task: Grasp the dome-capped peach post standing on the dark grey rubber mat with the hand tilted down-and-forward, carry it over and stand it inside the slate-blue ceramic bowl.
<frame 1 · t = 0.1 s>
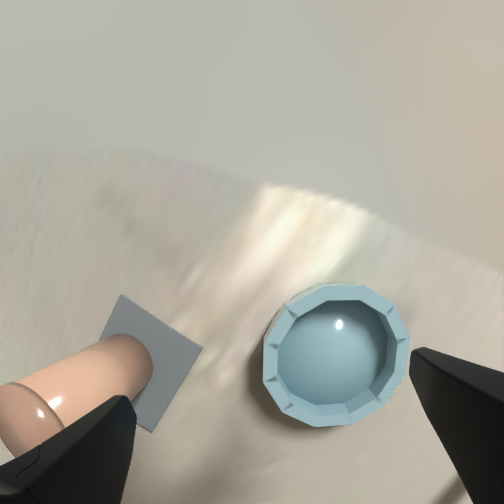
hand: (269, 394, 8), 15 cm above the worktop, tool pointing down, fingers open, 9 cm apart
bowl: (331, 350, 24), on the worktop
dome-capped peach post: (125, 362, 24), resting on mat
mat: (136, 367, 24), on the worktop
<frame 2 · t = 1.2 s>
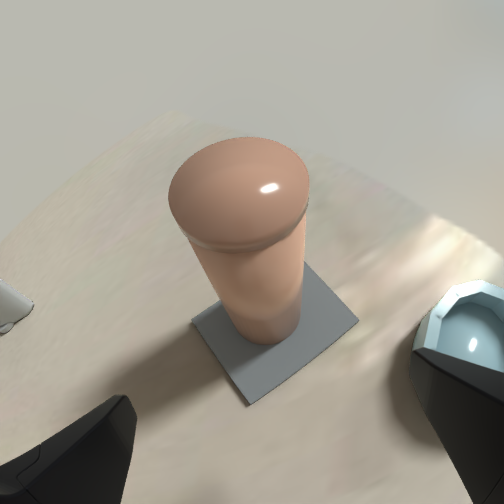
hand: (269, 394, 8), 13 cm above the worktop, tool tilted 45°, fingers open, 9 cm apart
tall pale column: (7, 317, 26), on the worktop
bowl: (469, 358, 19), on the worktop
dome-capped peach post: (266, 311, 23), resting on mat
mat: (274, 323, 23), on the worktop
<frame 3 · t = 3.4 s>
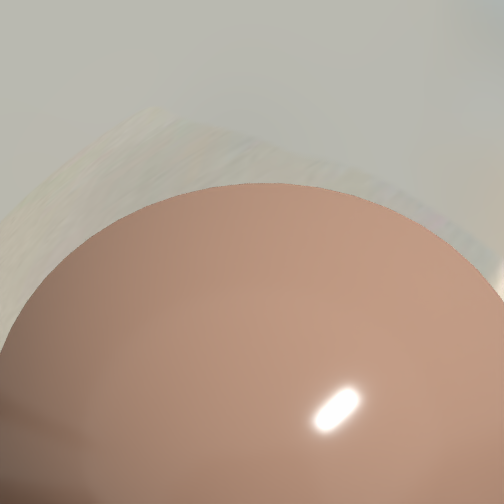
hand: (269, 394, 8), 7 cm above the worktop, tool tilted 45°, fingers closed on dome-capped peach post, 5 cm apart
dome-capped peach post: (282, 431, 13), resting on mat, touching gripper
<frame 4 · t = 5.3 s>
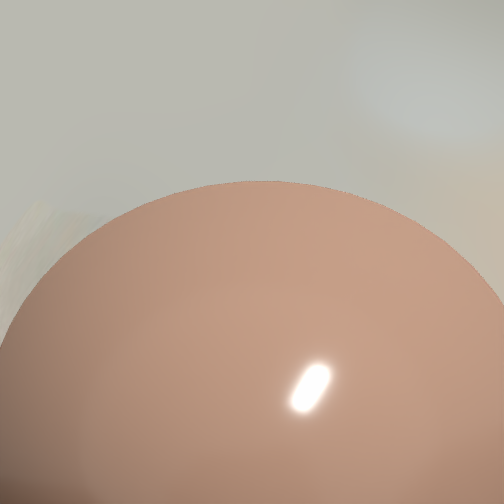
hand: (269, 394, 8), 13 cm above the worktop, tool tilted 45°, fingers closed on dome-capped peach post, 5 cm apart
dome-capped peach post: (281, 430, 13), point 7 cm above the worktop, touching gripper
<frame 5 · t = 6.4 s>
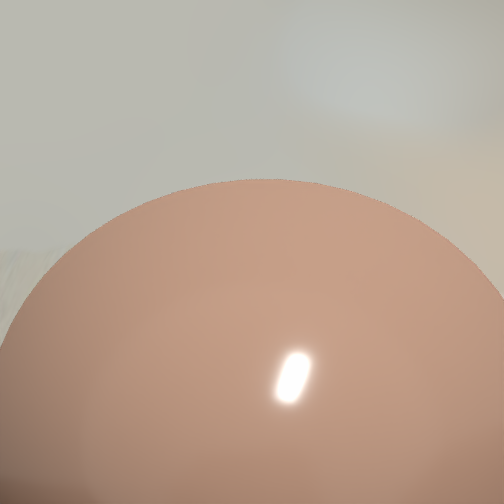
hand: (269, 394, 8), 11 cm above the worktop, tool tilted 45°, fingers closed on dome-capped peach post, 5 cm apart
dome-capped peach post: (282, 430, 13), point 5 cm above the worktop, touching gripper
when the fingers open (9 cm above the worktop, at t = 7.2 s): dome-capped peach post drops 2 cm, resting on bowl.
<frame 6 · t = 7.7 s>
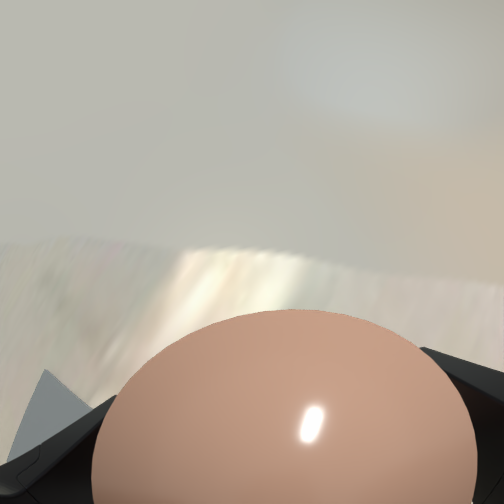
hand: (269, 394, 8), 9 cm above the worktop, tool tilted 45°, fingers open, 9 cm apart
dome-capped peach post: (283, 432, 15), point 1 cm above the worktop, touching bowl
mat: (56, 450, 15), on the worktop
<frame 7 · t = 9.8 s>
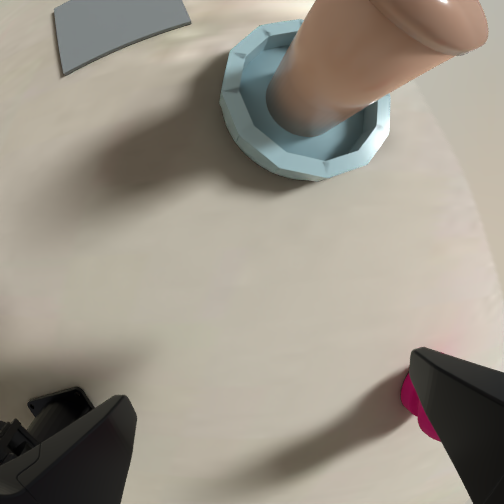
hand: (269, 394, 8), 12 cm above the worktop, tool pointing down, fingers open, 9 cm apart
bowl: (301, 103, 20), on the worktop
dome-capped peach post: (303, 100, 19), point 1 cm above the worktop, touching bowl
pepper mill: (424, 380, 24), on the worktop
mat: (116, 12, 17), on the worktop
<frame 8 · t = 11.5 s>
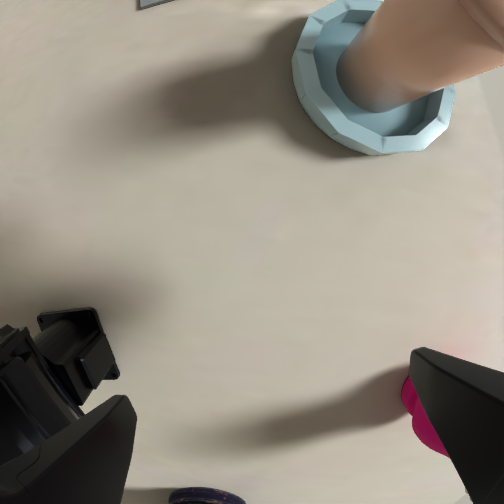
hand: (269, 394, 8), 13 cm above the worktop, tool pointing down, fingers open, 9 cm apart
bowl: (369, 79, 18), on the worktop
dome-capped peach post: (372, 77, 17), point 1 cm above the worktop, touching bowl
pepper mill: (428, 381, 24), on the worktop
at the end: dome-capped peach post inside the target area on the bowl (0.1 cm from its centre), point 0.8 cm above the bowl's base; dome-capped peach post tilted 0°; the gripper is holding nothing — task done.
